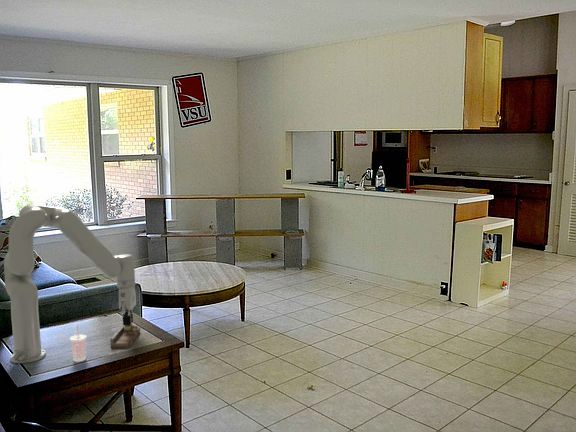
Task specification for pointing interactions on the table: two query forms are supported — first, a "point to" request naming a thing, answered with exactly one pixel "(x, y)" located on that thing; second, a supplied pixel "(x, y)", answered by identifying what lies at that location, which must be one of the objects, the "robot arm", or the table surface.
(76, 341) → the beverage cup
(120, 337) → the wooden slotted block
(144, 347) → the table surface
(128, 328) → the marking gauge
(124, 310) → the robot arm
